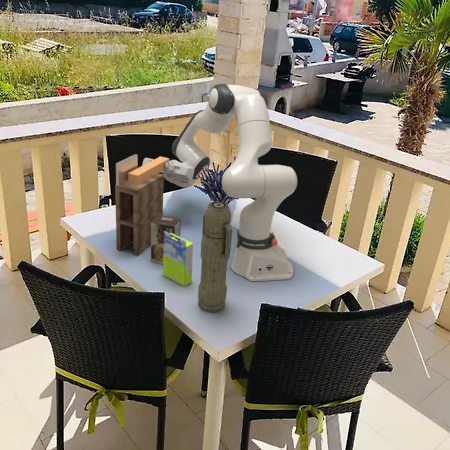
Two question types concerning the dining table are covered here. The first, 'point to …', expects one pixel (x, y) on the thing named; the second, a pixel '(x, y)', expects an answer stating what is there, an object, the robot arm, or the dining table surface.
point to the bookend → (125, 169)
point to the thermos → (215, 257)
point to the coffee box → (162, 235)
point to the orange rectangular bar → (147, 170)
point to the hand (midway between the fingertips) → (159, 163)
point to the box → (177, 258)
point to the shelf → (137, 212)
